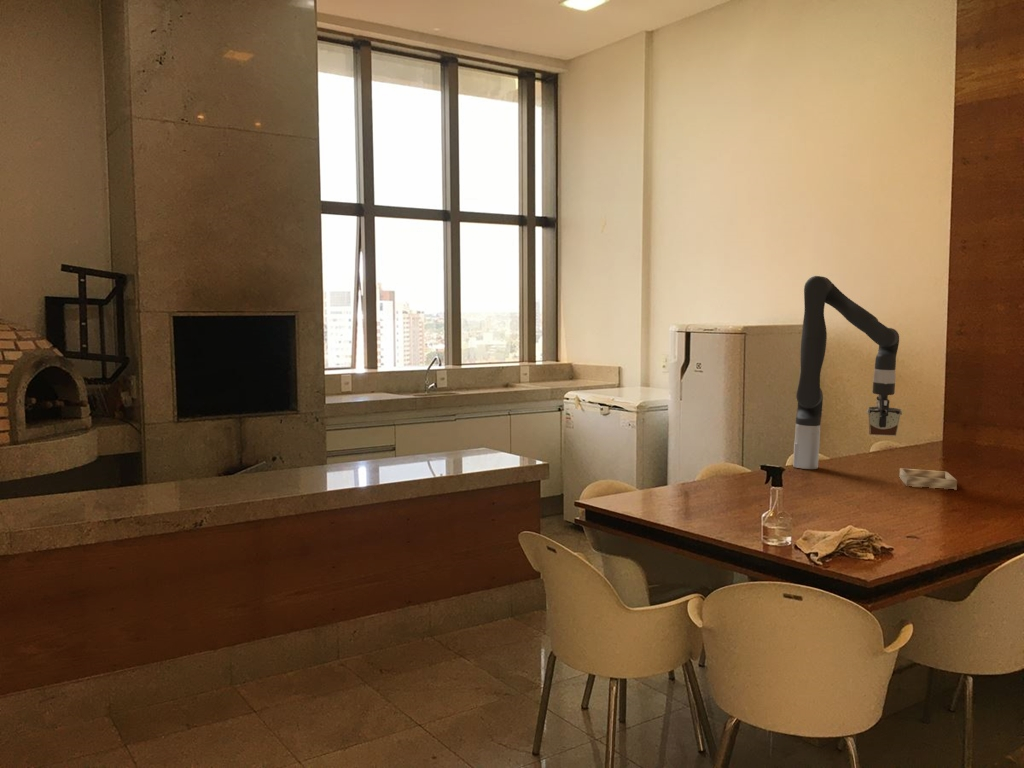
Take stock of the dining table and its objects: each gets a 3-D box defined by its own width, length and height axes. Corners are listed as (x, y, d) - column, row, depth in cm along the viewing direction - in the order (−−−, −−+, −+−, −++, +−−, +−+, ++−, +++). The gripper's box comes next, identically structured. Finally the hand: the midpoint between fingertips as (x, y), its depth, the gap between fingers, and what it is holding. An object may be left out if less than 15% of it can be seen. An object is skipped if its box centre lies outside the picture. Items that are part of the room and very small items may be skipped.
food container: (894, 433, 307) (896, 407, 306) (900, 436, 300) (902, 409, 299) (860, 432, 308) (862, 406, 307) (866, 434, 302) (867, 408, 301)
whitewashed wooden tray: (906, 486, 290) (907, 476, 290) (899, 477, 305) (899, 468, 305) (956, 490, 285) (957, 480, 285) (946, 480, 301) (947, 471, 300)
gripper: (870, 379, 310) (867, 422, 311) (875, 382, 296) (872, 427, 298) (892, 380, 308) (888, 423, 309) (898, 383, 294) (895, 429, 296)
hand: (881, 425), depth 304 cm, fingers closed on food container, 6 cm apart
